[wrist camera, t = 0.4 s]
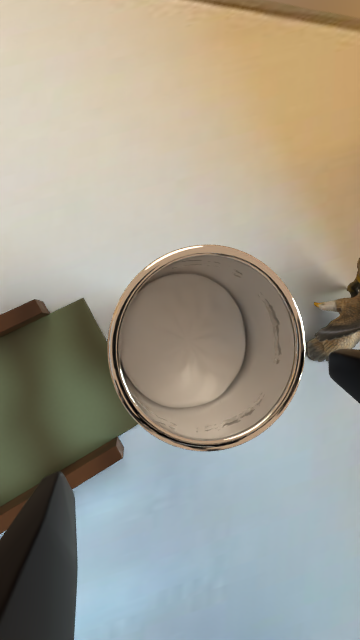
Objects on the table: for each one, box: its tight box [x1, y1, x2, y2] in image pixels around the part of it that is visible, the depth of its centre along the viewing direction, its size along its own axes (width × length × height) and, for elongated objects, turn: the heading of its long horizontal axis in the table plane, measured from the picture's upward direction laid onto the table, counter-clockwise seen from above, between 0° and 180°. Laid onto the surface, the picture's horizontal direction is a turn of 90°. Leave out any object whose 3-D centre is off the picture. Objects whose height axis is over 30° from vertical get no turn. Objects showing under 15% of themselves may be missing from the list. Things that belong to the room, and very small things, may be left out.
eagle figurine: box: [306, 258, 360, 362], centre depth 23 cm, size 8×7×9 cm
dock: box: [0, 298, 138, 534], centre depth 19 cm, size 16×14×2 cm
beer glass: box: [107, 245, 305, 451], centre depth 15 cm, size 7×7×15 cm
